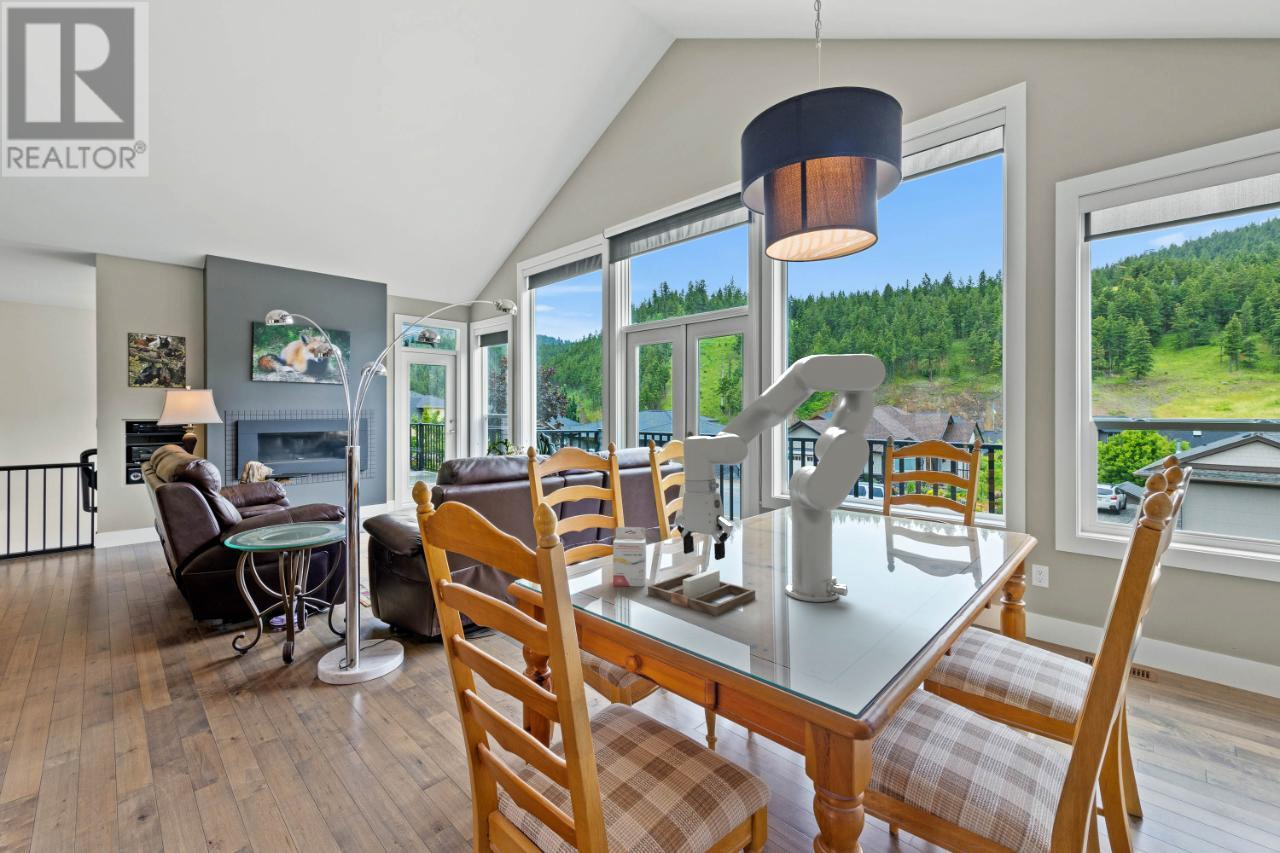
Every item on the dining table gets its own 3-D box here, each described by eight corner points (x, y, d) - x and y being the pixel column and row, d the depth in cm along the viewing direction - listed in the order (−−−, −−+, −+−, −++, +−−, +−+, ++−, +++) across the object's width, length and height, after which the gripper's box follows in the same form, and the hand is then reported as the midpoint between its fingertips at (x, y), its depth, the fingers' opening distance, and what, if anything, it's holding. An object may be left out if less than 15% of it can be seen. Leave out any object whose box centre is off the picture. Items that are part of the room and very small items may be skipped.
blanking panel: (719, 590, 139) (719, 570, 139) (689, 602, 131) (689, 581, 131) (713, 588, 141) (713, 569, 140) (683, 600, 132) (682, 579, 132)
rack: (755, 598, 133) (755, 588, 133) (715, 616, 122) (715, 605, 122) (688, 580, 148) (688, 571, 148) (647, 594, 137) (647, 584, 137)
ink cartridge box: (612, 586, 144) (611, 530, 144) (615, 580, 149) (614, 526, 149) (645, 587, 143) (644, 530, 143) (646, 581, 148) (646, 526, 148)
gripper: (738, 486, 131) (742, 557, 132) (683, 482, 143) (687, 547, 144) (719, 491, 126) (723, 565, 126) (664, 486, 138) (667, 553, 139)
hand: (704, 555), depth 135 cm, fingers open, 9 cm apart
